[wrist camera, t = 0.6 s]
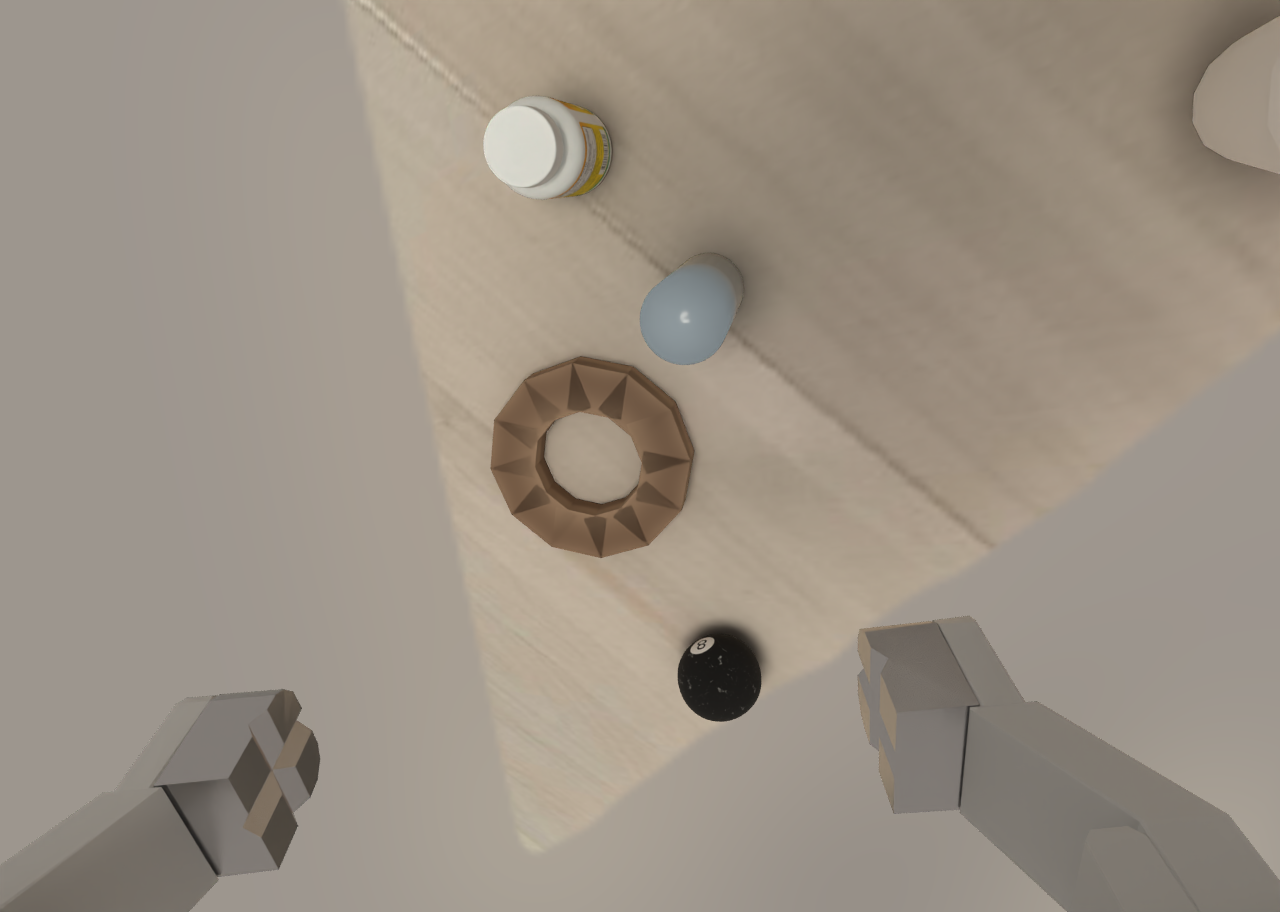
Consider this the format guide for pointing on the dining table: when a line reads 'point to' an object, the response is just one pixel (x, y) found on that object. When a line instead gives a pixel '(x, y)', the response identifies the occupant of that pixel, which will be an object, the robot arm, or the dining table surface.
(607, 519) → the walnut ring
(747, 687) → the billiard ball
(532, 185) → the supplement bottle
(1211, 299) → the dining table surface
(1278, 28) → the foam cup
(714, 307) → the slate ceramic shaker
